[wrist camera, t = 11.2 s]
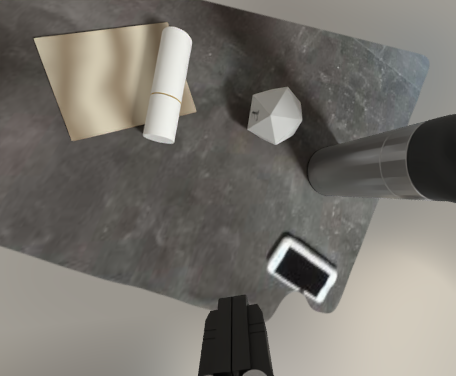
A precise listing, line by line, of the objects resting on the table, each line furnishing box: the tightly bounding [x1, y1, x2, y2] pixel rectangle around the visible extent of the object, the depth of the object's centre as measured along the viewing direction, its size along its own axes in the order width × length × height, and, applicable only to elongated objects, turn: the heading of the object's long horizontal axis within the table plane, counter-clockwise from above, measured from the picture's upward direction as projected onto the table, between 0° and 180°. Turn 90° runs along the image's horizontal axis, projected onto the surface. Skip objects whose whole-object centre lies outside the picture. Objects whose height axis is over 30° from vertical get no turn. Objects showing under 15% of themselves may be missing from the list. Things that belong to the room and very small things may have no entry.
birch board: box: [34, 22, 196, 141], centre depth 31 cm, size 18×14×1 cm
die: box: [247, 87, 302, 145], centre depth 34 cm, size 8×9×10 cm
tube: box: [143, 27, 192, 144], centre depth 31 cm, size 4×4×15 cm
